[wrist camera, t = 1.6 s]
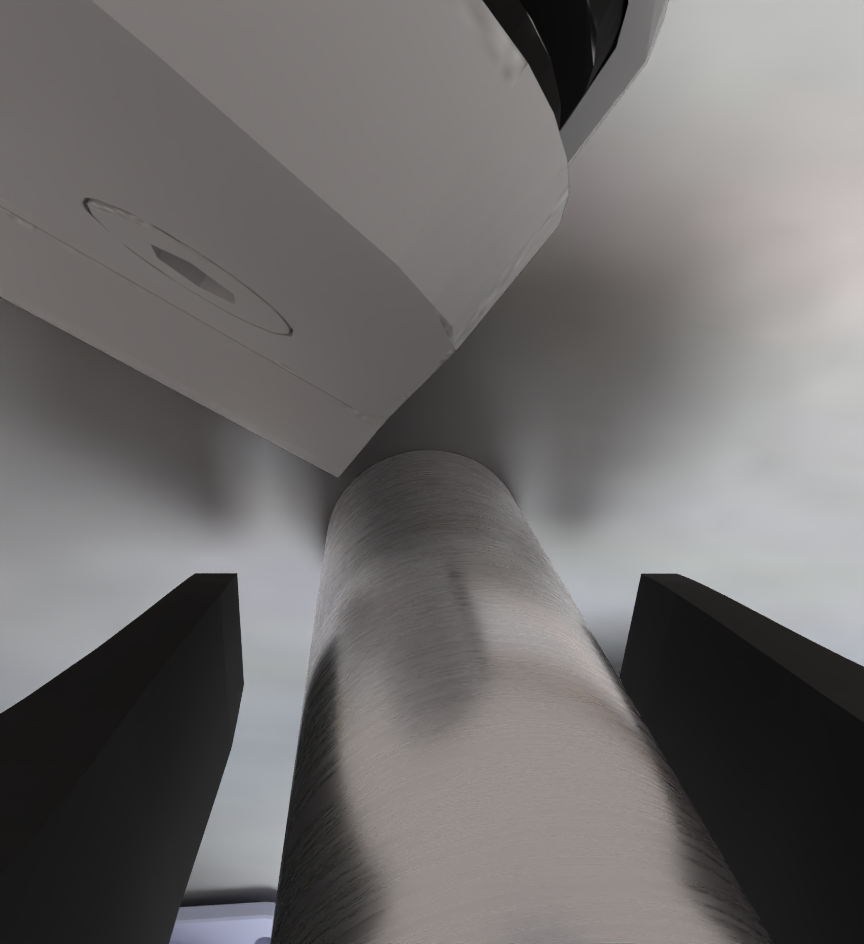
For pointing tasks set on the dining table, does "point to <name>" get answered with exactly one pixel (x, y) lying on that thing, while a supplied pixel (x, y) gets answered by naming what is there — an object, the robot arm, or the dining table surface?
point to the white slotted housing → (294, 185)
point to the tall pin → (478, 745)
